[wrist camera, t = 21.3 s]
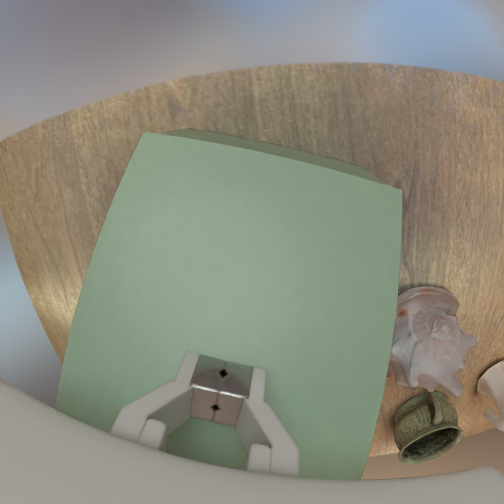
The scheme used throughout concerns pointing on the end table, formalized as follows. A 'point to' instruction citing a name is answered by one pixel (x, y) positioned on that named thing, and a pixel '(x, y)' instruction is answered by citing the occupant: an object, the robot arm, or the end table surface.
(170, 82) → the end table surface
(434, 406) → the vessel
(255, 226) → the chest lid
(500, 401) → the figurine
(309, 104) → the end table surface
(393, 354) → the seashell
